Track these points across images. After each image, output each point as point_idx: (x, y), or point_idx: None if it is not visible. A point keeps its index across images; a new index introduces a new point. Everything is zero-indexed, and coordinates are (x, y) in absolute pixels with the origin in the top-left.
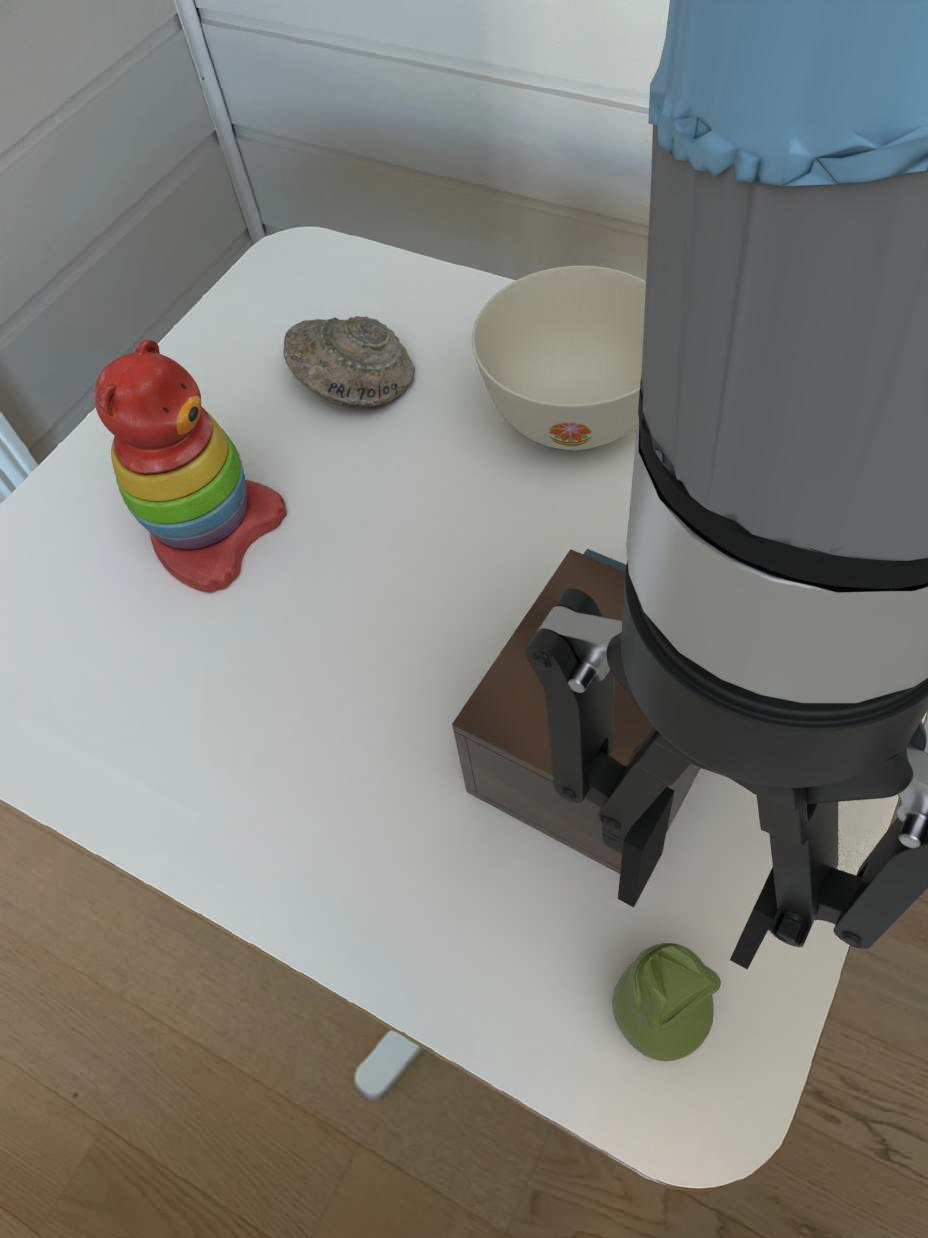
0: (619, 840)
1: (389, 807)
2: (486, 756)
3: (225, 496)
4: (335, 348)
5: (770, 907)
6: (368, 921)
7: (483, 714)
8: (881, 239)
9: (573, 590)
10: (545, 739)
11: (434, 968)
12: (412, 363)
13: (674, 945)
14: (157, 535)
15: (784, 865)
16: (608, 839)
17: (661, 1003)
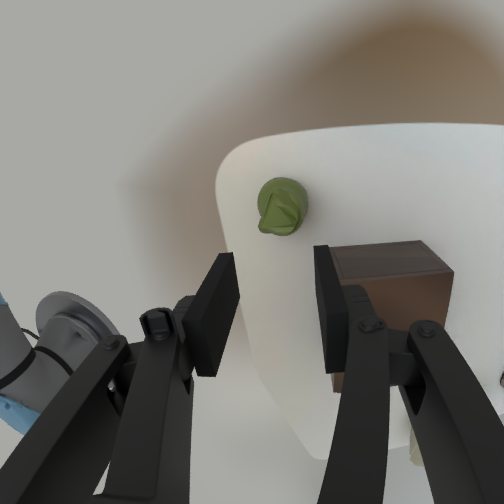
0: (351, 299)
1: (447, 212)
2: (428, 265)
3: None
4: None
5: (190, 328)
6: (426, 157)
7: (442, 286)
8: None
9: None
10: (407, 293)
11: (388, 155)
12: (502, 386)
13: (289, 233)
14: None
15: (151, 415)
16: (360, 293)
17: (278, 201)
